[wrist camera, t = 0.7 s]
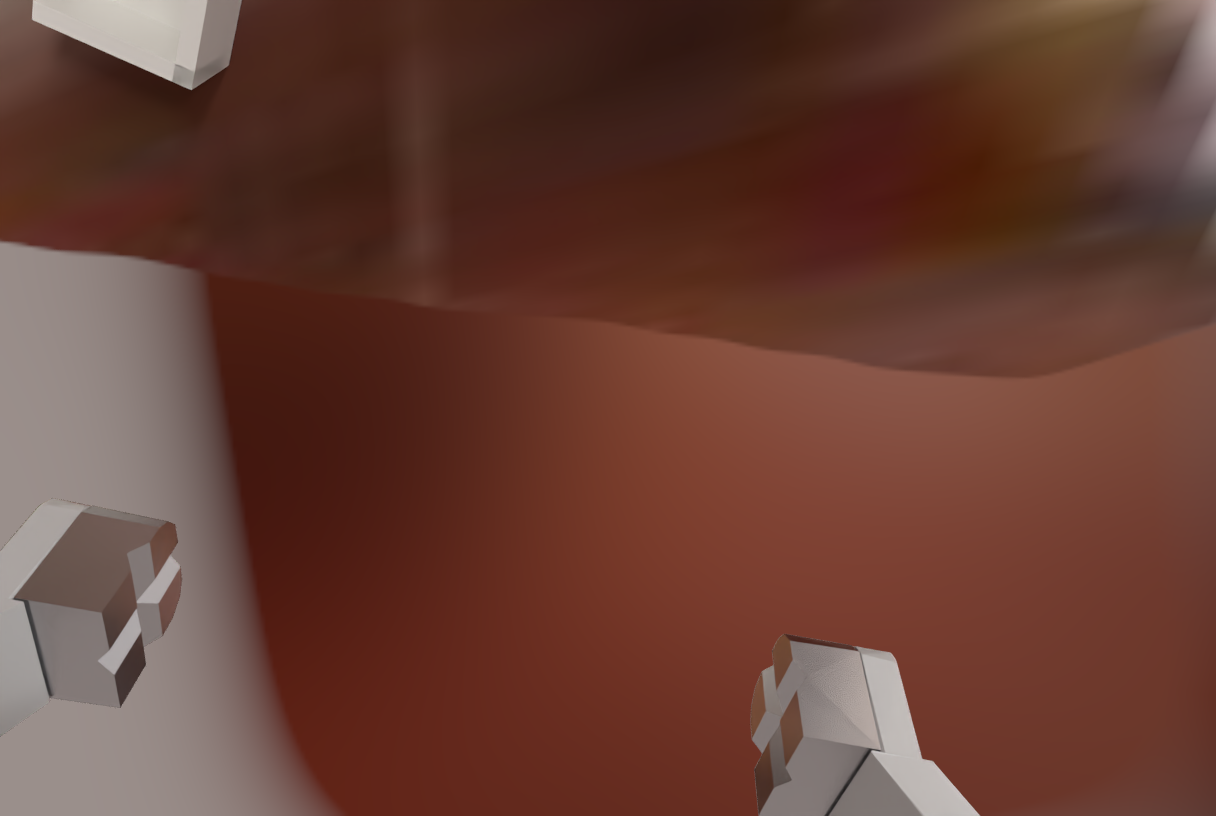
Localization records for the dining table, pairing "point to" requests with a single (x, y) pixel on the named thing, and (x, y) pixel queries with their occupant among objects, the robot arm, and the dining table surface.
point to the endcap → (151, 32)
